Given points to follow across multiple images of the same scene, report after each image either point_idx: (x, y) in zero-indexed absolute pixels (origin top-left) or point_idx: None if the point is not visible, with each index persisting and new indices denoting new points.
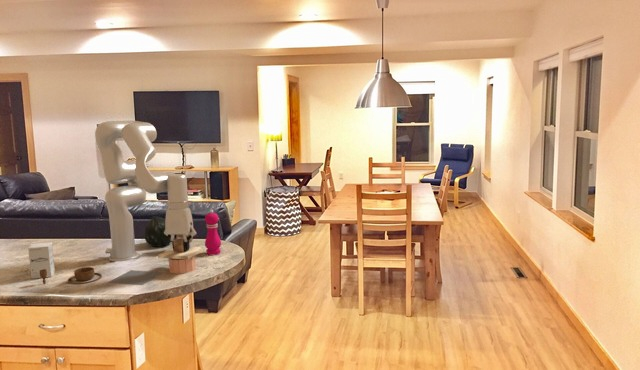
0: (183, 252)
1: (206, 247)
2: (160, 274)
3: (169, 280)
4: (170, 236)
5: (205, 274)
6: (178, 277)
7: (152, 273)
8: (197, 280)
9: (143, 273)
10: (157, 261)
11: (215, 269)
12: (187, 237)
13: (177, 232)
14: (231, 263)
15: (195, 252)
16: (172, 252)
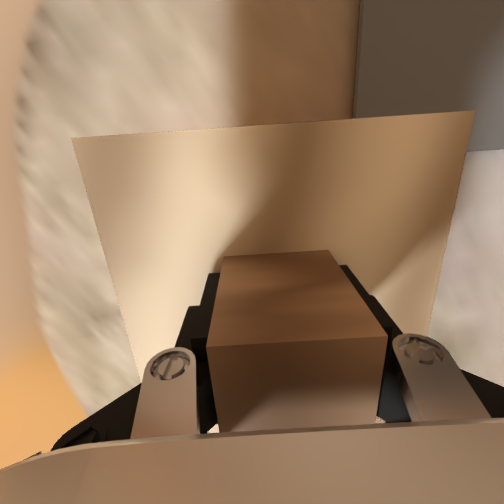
0: (222, 259)
1: None
2: (356, 106)
3: (239, 28)
4: (494, 411)
5: (91, 209)
6: (216, 111)
7: (424, 112)
8: (50, 84)
9: (490, 96)
10: (485, 337)
11: (101, 297)
12: (135, 426)
13: (298, 494)
14: (92, 387)
15: (118, 295)
16: (337, 232)
